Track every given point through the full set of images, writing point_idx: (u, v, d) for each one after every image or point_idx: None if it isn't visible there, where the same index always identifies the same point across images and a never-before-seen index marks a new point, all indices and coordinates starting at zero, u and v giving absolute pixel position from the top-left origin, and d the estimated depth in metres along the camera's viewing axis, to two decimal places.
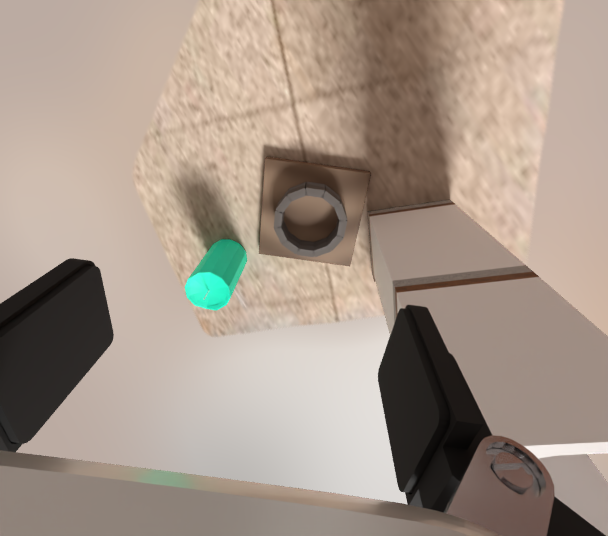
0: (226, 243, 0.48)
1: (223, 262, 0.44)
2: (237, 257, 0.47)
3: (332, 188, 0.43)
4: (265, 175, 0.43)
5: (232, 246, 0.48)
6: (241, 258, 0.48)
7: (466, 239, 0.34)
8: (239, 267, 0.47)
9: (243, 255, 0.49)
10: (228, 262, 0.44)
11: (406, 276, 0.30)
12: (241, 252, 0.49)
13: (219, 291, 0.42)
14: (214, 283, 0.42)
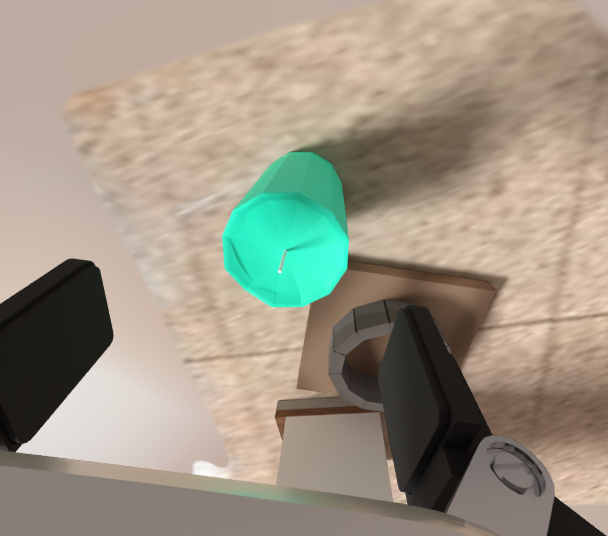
0: None
1: None
2: None
3: None
4: (468, 289, 0.25)
5: None
6: None
7: None
8: None
9: None
10: None
11: None
12: None
13: (284, 276, 0.16)
14: (309, 268, 0.15)
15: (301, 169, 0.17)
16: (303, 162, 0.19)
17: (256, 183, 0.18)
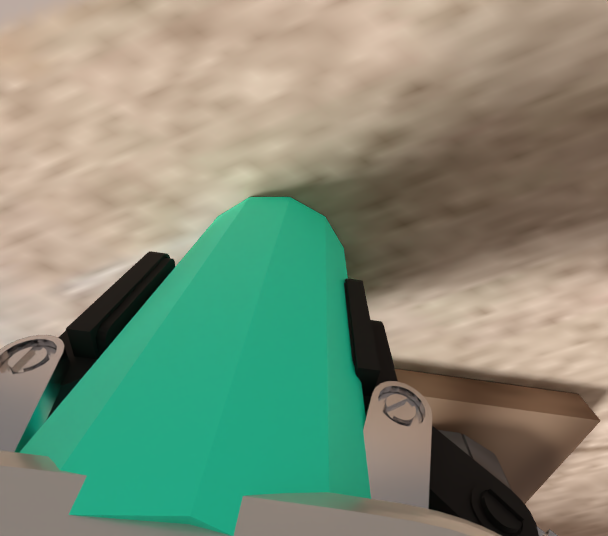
0: None
1: None
2: None
3: None
4: (552, 417, 0.15)
5: None
6: None
7: None
8: None
9: None
10: None
11: None
12: None
13: None
14: None
15: (252, 274, 0.07)
16: (265, 238, 0.09)
17: (146, 304, 0.07)
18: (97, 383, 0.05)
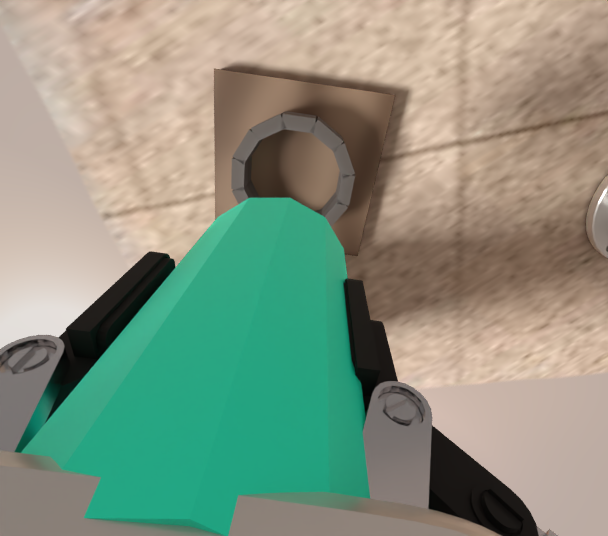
0: None
1: None
2: None
3: None
4: (366, 93, 0.25)
5: None
6: None
7: None
8: None
9: None
10: None
11: None
12: None
13: None
14: None
15: (253, 275, 0.07)
16: (265, 239, 0.09)
17: (146, 305, 0.07)
18: (97, 385, 0.05)
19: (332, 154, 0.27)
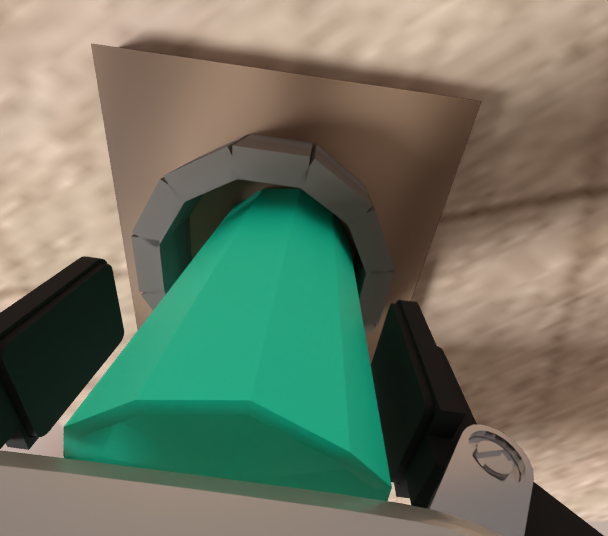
0: None
1: None
2: None
3: None
4: (420, 98, 0.12)
5: None
6: None
7: None
8: None
9: None
10: None
11: None
12: None
13: None
14: None
15: (274, 249, 0.08)
16: (281, 222, 0.10)
17: (182, 275, 0.09)
18: (157, 328, 0.06)
19: None
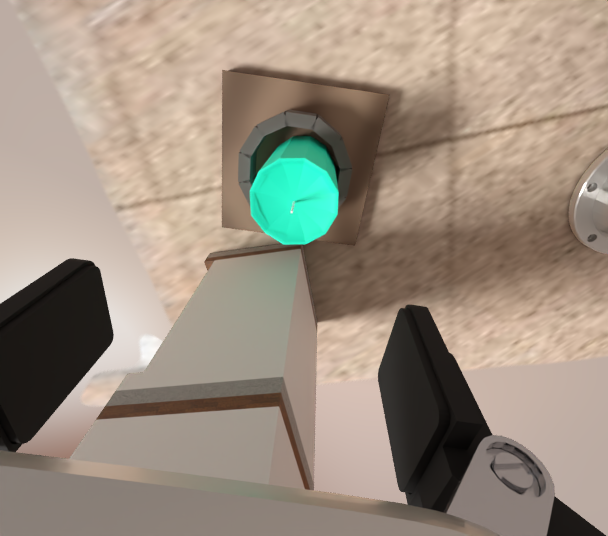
0: None
1: None
2: None
3: None
4: (363, 93, 0.27)
5: None
6: None
7: (310, 391, 0.28)
8: None
9: None
10: None
11: (288, 386, 0.20)
12: None
13: (292, 222, 0.22)
14: (310, 215, 0.22)
15: (304, 146, 0.24)
16: (304, 142, 0.25)
17: (270, 156, 0.24)
18: (273, 158, 0.21)
19: (331, 149, 0.29)
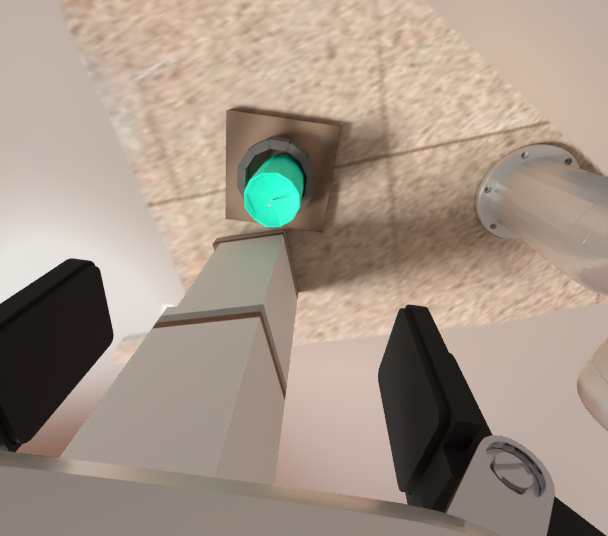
0: None
1: None
2: None
3: None
4: (322, 125, 0.39)
5: None
6: None
7: (287, 331, 0.41)
8: None
9: None
10: None
11: (267, 312, 0.32)
12: None
13: (271, 212, 0.34)
14: (282, 208, 0.34)
15: (280, 163, 0.36)
16: (281, 160, 0.38)
17: (258, 170, 0.36)
18: (259, 172, 0.34)
19: None
